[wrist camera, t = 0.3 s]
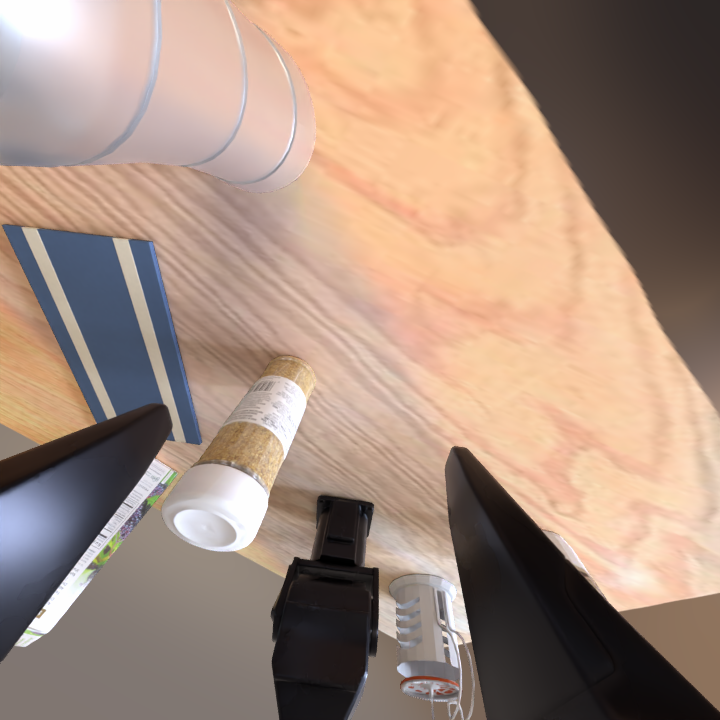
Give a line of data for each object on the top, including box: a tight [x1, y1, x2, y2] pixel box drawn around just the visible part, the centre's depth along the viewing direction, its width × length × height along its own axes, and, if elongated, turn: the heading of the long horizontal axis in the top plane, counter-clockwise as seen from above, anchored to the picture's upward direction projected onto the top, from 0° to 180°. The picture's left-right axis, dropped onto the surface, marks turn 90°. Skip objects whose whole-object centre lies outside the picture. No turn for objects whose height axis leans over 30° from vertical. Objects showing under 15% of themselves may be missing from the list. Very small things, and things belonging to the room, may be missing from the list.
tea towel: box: [2, 224, 202, 445], centre depth 25 cm, size 20×11×1 cm, turn 174°
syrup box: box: [15, 458, 177, 647], centre depth 27 cm, size 6×6×14 cm
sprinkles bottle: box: [161, 356, 316, 551], centre depth 19 cm, size 5×4×14 cm
